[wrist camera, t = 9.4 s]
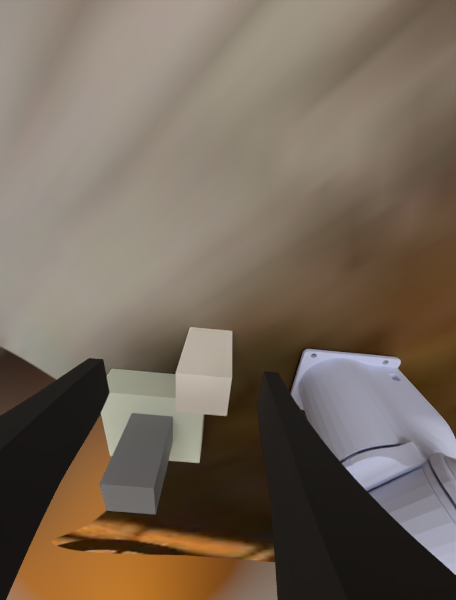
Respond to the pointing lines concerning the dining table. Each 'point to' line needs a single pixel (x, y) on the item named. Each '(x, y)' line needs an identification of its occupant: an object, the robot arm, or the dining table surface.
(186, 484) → the dining table surface
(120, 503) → the grey rectangular prism
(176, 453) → the sage board
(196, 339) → the off-white pillar
